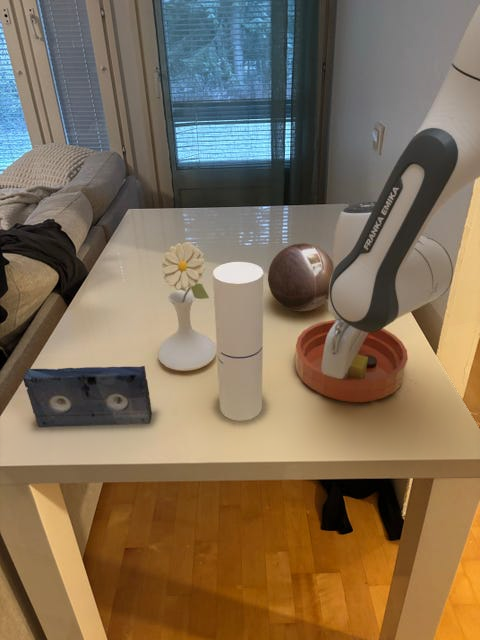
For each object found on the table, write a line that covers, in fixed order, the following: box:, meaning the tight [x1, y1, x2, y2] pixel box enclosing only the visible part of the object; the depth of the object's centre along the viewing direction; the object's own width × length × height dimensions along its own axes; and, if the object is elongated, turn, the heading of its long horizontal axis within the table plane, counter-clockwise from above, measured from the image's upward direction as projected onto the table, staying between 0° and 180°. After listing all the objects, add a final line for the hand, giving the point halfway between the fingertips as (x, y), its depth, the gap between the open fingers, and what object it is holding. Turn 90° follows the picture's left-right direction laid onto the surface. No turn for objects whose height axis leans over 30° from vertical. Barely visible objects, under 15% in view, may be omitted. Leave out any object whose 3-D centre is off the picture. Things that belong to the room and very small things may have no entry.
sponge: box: [347, 354, 368, 379], centre depth 83 cm, size 6×4×4 cm, turn 62°
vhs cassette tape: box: [22, 365, 153, 428], centre depth 74 cm, size 18×3×10 cm, turn 90°
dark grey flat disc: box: [363, 355, 377, 368], centre depth 87 cm, size 3×3×1 cm
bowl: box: [294, 319, 409, 403], centre depth 86 cm, size 20×20×5 cm
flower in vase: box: [157, 241, 217, 372], centre depth 84 cm, size 13×11×25 cm
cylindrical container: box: [212, 261, 264, 422], centre depth 72 cm, size 7×7×25 cm
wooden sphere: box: [267, 243, 333, 312], centre depth 104 cm, size 15×15×15 cm
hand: (347, 368), depth 83 cm, fingers closed on sponge, 4 cm apart
